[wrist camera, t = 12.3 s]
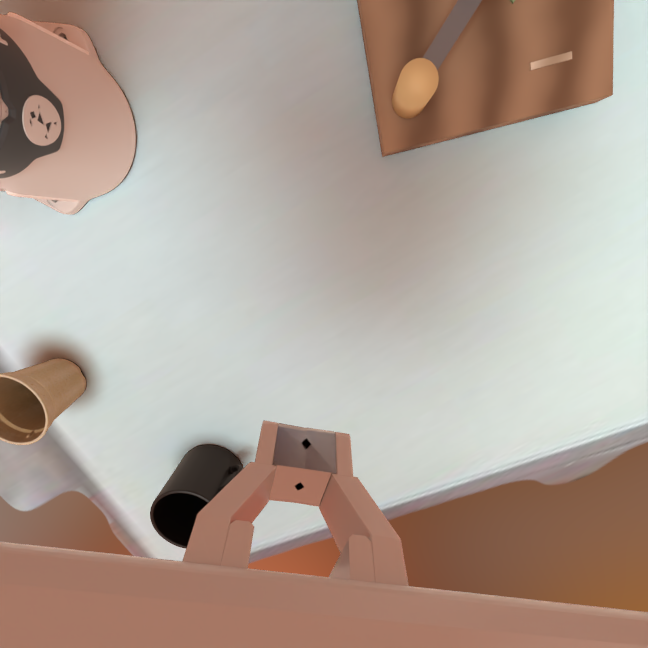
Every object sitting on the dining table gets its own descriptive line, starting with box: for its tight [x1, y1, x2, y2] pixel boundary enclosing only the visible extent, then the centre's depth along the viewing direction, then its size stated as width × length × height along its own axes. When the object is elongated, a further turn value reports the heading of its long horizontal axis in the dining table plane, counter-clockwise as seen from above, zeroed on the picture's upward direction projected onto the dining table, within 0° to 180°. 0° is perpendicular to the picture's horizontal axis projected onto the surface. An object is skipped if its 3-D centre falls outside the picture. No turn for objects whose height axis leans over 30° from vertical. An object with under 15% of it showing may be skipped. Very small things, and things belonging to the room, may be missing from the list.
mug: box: [150, 445, 243, 549], centre depth 48 cm, size 9×12×9 cm
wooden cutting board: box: [357, 0, 614, 157], centre depth 32 cm, size 21×16×3 cm
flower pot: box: [0, 358, 86, 445], centre depth 45 cm, size 9×9×9 cm
